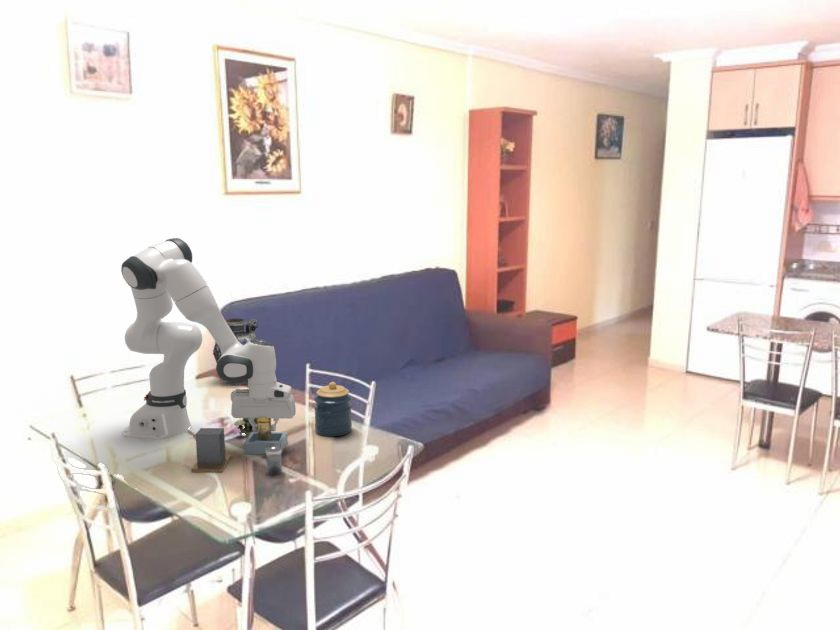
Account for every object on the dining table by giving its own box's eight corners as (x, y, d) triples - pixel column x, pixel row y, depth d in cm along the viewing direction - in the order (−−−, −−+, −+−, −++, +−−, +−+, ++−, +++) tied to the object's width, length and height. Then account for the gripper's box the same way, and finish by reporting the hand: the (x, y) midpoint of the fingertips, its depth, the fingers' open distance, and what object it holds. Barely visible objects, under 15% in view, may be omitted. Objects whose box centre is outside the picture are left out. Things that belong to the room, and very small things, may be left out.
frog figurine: (228, 446, 209) (226, 412, 207) (223, 427, 225) (221, 396, 223) (282, 438, 215) (281, 406, 213) (274, 421, 232) (272, 391, 230)
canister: (309, 427, 225) (308, 379, 222) (342, 421, 231) (342, 374, 228) (323, 439, 214) (322, 389, 211) (358, 432, 220) (357, 384, 217)
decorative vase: (251, 373, 292) (248, 313, 286) (270, 382, 278) (267, 320, 272) (205, 382, 278) (202, 319, 273) (223, 392, 264) (219, 326, 259)
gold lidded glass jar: (259, 435, 208) (258, 412, 206) (273, 435, 208) (272, 412, 206) (255, 440, 203) (254, 417, 202) (270, 441, 203) (269, 417, 202)
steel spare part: (264, 475, 187) (263, 449, 185) (268, 468, 191) (267, 443, 190) (280, 475, 187) (279, 449, 185) (283, 468, 191) (282, 443, 190)
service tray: (243, 454, 202) (243, 443, 201) (251, 441, 212) (251, 432, 211) (281, 454, 202) (281, 443, 201) (287, 442, 212) (287, 432, 211)
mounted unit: (191, 472, 188) (189, 437, 186) (203, 457, 199) (201, 424, 197) (221, 472, 188) (219, 437, 186) (232, 457, 199) (230, 424, 197)
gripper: (227, 392, 199) (229, 433, 202) (292, 392, 199) (293, 434, 202) (233, 386, 206) (235, 426, 208) (296, 386, 206) (297, 427, 208)
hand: (264, 430), depth 205 cm, fingers closed on gold lidded glass jar, 4 cm apart
